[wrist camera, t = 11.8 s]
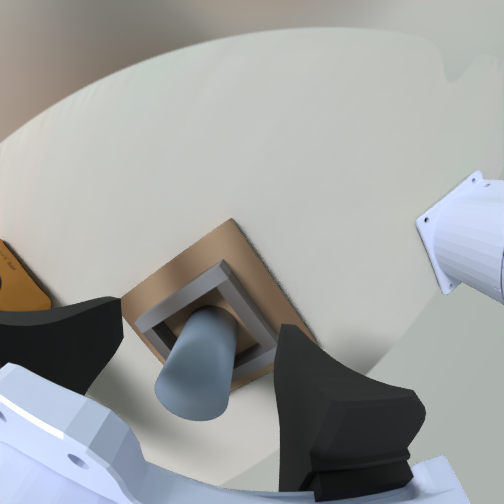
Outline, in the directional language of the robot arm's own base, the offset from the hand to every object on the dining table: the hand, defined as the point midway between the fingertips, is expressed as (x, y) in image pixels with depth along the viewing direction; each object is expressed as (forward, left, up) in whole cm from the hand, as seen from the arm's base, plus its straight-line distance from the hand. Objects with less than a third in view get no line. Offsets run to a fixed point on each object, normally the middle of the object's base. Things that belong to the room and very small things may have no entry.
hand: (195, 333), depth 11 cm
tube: (+3, +3, -9) cm, 10 cm away
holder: (+3, +3, -10) cm, 11 cm away
